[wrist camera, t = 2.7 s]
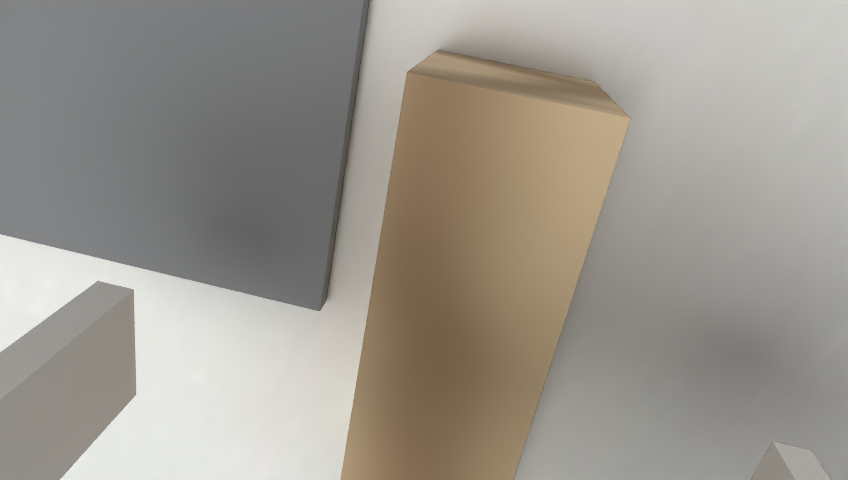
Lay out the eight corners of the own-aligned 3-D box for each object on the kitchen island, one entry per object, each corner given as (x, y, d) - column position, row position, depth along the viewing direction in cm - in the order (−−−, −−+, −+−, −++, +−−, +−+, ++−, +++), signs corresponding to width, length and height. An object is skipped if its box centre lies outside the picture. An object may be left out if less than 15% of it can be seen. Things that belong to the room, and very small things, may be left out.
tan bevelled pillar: (593, 80, 15) (630, 118, 10) (475, 485, 20) (465, 627, 16) (438, 49, 15) (407, 72, 10) (364, 458, 21) (322, 590, 16)
